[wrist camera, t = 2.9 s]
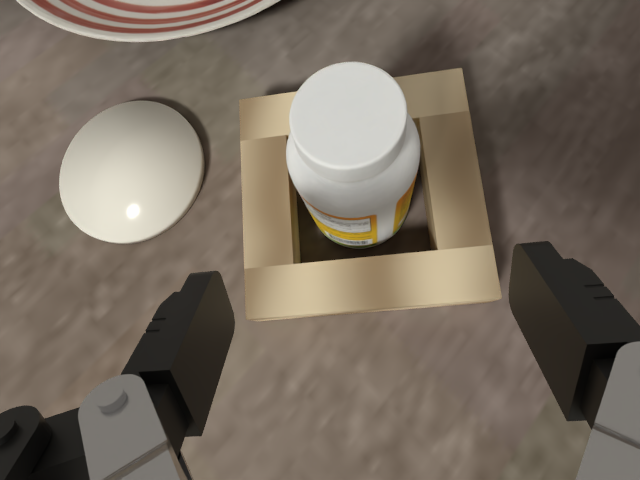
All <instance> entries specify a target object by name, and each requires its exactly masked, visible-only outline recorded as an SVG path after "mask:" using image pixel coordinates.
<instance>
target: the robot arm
mask: <svg viewBox="0 0 640 480" xmlns="http://www.w3.org/2000/svg"><path fill="white" fill-rule="evenodd" d="M509 302H510V307H511V310H512V313H513V315H514V317H515V319H516V321H517V323H518V325H519V327H520V329H521V331H522V333H523V335H524V337H525V339H526V341H527V343H528V345H529V347H530V349H531V351H532V353H533V355H534V357H535V359H536V361H537V363H538V365H539V367H540V369H541V371H542V373H543V375H544V377H545V379H546V381H547V383H548V384H549V386H550V388H551V390H552V392H553V394H554V396H555V398H556V400H557V402H558V404H559V406H560V408H561V410H562V412H563V414H564V416H565V418H566V420H567V421H582V420H587V422H588V424H589V426H590V428H591V430H592V431H591V434H590V437H589V440H588V444H587V447H586V450H585V453H584V456H583V459H582V462H581V465H580V468H579V471H578V474H577V477H576V480H640V326H639V325H638V323H637V322H636V321H635V320H634V319H633V317H632V316H631V315H630V314H629V313H628V312H627V310H626V309H625V308H624V307H623V306H622V305H621V303H620V302H619V301H618V300H617V299H614V295H613V294H612V293H611V292H610V291H609V289H608V288H607V287H604V284H603V282H602V281H601V280H600V279H599V278H598V277H597V275H596V274H595V273H594V272H593V271H592V270H591V269H590V268H588V267H586V266H584V265H583V264H581V263H579V262H578V261H576V260H574V259H573V258H572V259H563V258H562V257H561V256H560V255H559V253H558V252H557V251H556V249H555V248H554V247H553V246H552V244H551V243H550V242H548V241H544V242H533V243H522V244H516V245H515V247H514V250H513V257H512V266H511V275H510V284H509ZM234 327H235V321H234V313H233V310H232V307H231V304H230V301H229V298H228V295H227V292H226V289H225V286H224V283H223V280H222V277H221V275H220V273H219V272H218V271H210V272H199V273H191V274H190V275H189V276H188V278H187V280H186V281H185V283H184V285H183V287H182V289H181V291H180V292H174V293H173V294H171V295H170V296H169V297H168V298H167V299H166V300H165V301H164V302H163V303H162V304H161V305H160V306H159V308H158V309H157V311H156V313H155V315H154V317H153V318H152V322H150V324H149V325H148V327H147V329H146V333H144V334H143V336H142V338H141V340H140V341H139V343H138V345H137V347H136V348H135V350H134V352H133V354H132V355H131V357H130V359H129V361H128V363H127V364H126V366H125V368H124V370H123V371H122V373H121V375H119V376H116V377H113V378H110V379H108V380H106V381H104V382H103V383H101V384H100V385H98V386H97V387H96V388H94V389H93V390H92V391H91V392H90V393H89V394H88V395H87V396H86V398H85V399H84V400H83V402H82V404H81V406H80V407H79V408H76V409H73V410H70V411H67V412H64V413H61V414H58V415H55V416H52V417H48V418H45V419H44V418H43V416H42V415H41V414H40V412H39V411H38V410H37V409H36V408H35V407H32V406H19V407H15V408H12V409H9V410H7V411H5V412H3V413H1V414H0V480H194V479H193V477H192V475H191V472H190V470H189V467H188V465H187V463H186V460H185V458H184V456H183V454H182V452H181V450H180V449H181V447H182V444H183V441H184V438H185V437H190V436H202V433H203V430H204V427H205V424H206V421H207V417H208V414H209V411H210V408H211V404H212V401H213V398H214V395H215V392H216V388H217V385H218V382H219V379H220V376H221V372H222V369H223V366H224V363H225V360H226V356H227V353H228V350H229V347H230V343H231V340H232V337H233V334H234Z"/></svg>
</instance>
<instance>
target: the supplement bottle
mask: <svg viewBox="0 0 640 480" xmlns="http://www.w3.org/2000/svg"><path fill="white" fill-rule="evenodd" d="M289 125H290V133H289V136H288V140H287V146H286V162H287V167H288V171H289V174H290V177H291V179H292V181H293V184H294V186H295V187H296V189H297V191H298V192H299V194H300V196H301V198H302V199H303V201H304V203H305V205H306V207H307V209H308V210H309V212H310V214H311V216H312V218H313V219H314V221H315V223H316V225H317V226H318V228H319V229H320V230H321V231H322V233H323V234H324V235H325V236H326V237H328V238H329V239H330V240H332V241H333V242H335V243H337V244H339V245H342V246H345V247H348V248H355V249H363V248H370V247H374V246H377V245H379V244H381V243H383V242H385V241H387V240H388V239H390V238H391V237H392V236H393V235H394V234H395V233H396V232H397V231H398V230H399V229H400V227H401V226H402V224H403V222H404V220H405V218H406V216H407V213H408V210H409V205H410V201H411V196H412V192H413V188H414V184H415V180H416V176H417V171H418V166H419V161H420V139H419V134H418V131H417V128H416V126H415V123H414V122H413V120H412V118H411V116H410V115H409V114H408V112H407V103H406V100H405V96H404V94H403V92H402V89H401V88H400V86H399V85H398V83H397V82H396V81H395V80H394V79H393V78H392V77H391V76H390V75H389V74H388V73H387V72H385V71H384V70H382V69H380V68H378V67H376V66H373V65H371V64H367V63H361V62H342V63H337V64H334V65H330V66H327V67H325V68H323V69H321V70H319V71H318V72H316V73H315V74H313V75H312V76H311V77H309V78H308V79H307V80H306V81H305V82H304V83H303V84H302V86H301V87H300V88H299V90H298V91H297V93H296V95H295V97H294V99H293V101H292V104H291V108H290V113H289Z"/></svg>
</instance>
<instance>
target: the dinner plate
mask: <svg viewBox="0 0 640 480" xmlns="http://www.w3.org/2000/svg"><path fill="white" fill-rule="evenodd" d="M16 1H17V2H18V3H19V4H21V5H22V6H23V7H24V8H26V9H27V10H28V11H30V12H31V13H33V14H34V15H36V16H37V17H39V18H41V19H43V20H44V21H46V22H48V23H50V24H53V25H55V26H57V27H59V28H61V29H64V30H67V31H70V32H73V33H76V34H79V35H83V36H87V37H92V38H96V39H103V40H111V41H122V42H150V41H164V40H170V39H175V38H181V37H188V36H193V35H197V34H201V33H204V32H208V31H212V30H215V29H218V28H221V27H224V26H227V25H230V24H232V23H236V22H238V21H241V20H243V19H245V18H247V17H250V16H252V15H254V14H256V13H258V12H260V11H262V10H264V9H266V8H268V7H270V6H272V5H273V4H275V3H277V2H279V1H280V0H16Z"/></svg>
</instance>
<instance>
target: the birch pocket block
mask: <svg viewBox="0 0 640 480" xmlns="http://www.w3.org/2000/svg"><path fill="white" fill-rule="evenodd" d="M393 79H394V80H395V81H396V82H397V83H398V85H399V86H400V88H401V89H402V92H403V94H404V96H405V100H406V103H407V112H408V114H409V115H410V116H411V118H412V120H413V122H414V123H415V126H416V128H417V131H418V134H419V139H420V161H419V166H420V173H421V180H422V187H423V195H424V202H425V209H426V216H427V224H428V231H429V238H430V245H431V251H424V252H413V253H403V254H393V255H382V256H372V257H361V258H351V259H341V260H330V261H320V262H310V263H301V259H300V243H299V227H298V211H297V195H296V187H295V186H294V184H293V181H292V179H291V177H290V174H289V171H288V167H287V162H286V146H287V140H288V136H289V133H290V125H289V113H290V108H291V104H292V101H293V99H294V97H295V95H296V93H297V91H296V92H289V93H282V94H276V95H269V96H262V97H255V98H248V99H241V100H239V107H240V141H241V174H242V208H243V241H244V274H245V308H246V320H254V321H266V320H279V319H291V318H303V317H315V316H328V315H340V314H352V313H365V312H377V311H389V310H402V309H414V308H426V307H438V306H451V305H463V304H475V303H488V302H492V301H495V300H499V299H502V296H501V290H500V284H499V279H498V273H497V267H496V261H495V256H494V250H493V244H492V238H491V233H490V227H489V221H488V215H487V210H486V204H485V198H484V192H483V187H482V181H481V175H480V169H479V164H478V158H477V152H476V146H475V141H474V135H473V129H472V123H471V118H470V112H469V106H468V100H467V95H466V89H465V83H464V77H463V72H462V68H456V69H449V70H442V71H435V72H428V73H421V74H414V75H407V76H401V77H394V78H393Z"/></svg>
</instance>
